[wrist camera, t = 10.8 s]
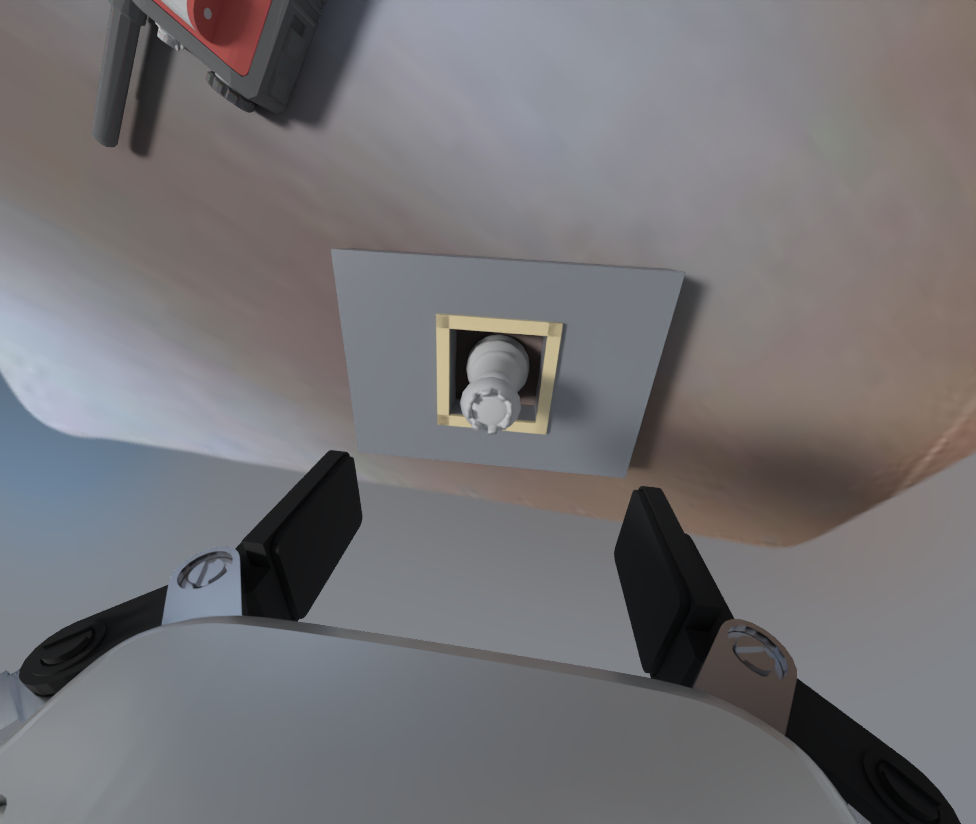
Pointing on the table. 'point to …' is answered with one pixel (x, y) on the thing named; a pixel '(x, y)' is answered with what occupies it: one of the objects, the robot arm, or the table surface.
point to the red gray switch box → (210, 50)
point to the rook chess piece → (494, 383)
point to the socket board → (506, 309)
